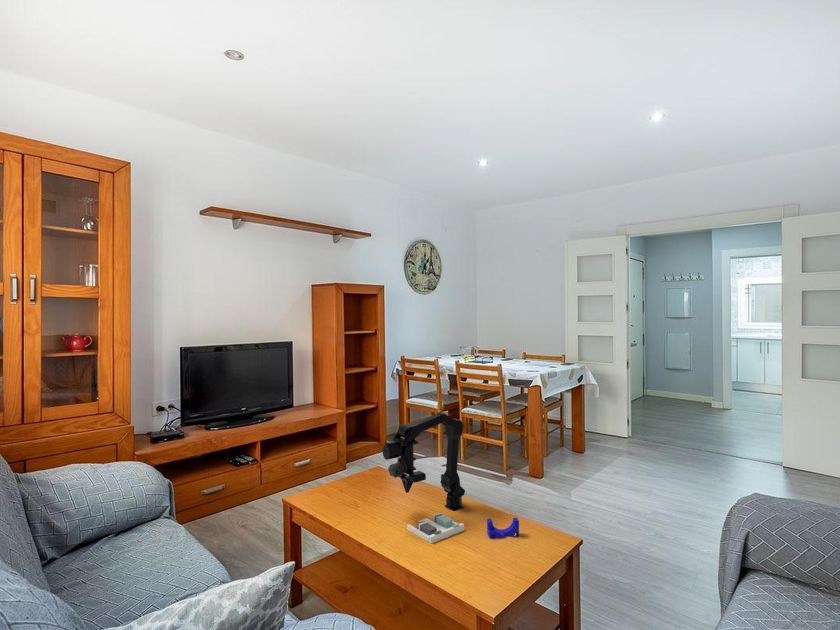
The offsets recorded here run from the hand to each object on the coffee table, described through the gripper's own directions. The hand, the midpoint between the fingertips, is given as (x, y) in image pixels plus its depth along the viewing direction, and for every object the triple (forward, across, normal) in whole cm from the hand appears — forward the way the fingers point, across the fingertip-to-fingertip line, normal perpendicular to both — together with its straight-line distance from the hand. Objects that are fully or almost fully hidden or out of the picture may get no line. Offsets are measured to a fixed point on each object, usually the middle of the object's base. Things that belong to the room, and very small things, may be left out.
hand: (407, 492), depth 198 cm
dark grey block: (+12, +14, -1) cm, 19 cm away
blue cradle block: (+12, +34, +22) cm, 42 cm away
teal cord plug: (+12, +13, +9) cm, 20 cm away
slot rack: (+12, +13, +4) cm, 18 cm away
